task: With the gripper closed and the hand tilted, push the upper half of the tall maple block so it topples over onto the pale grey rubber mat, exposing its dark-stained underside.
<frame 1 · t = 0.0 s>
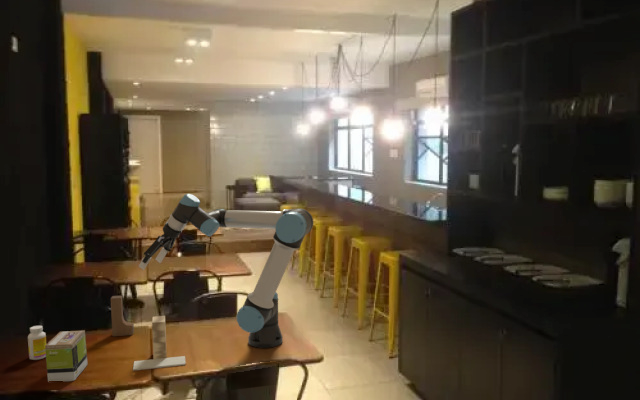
hand: (149, 264, 238), 36 cm above the table, tool tilted 35°, fingers open, 13 cm apart
wooden block: (123, 334, 254), on the table
supplement bottle: (38, 357, 228), on the table
tea box: (68, 374, 212), on the table
mat: (159, 363, 220), on the table
block: (160, 356, 228), on the table
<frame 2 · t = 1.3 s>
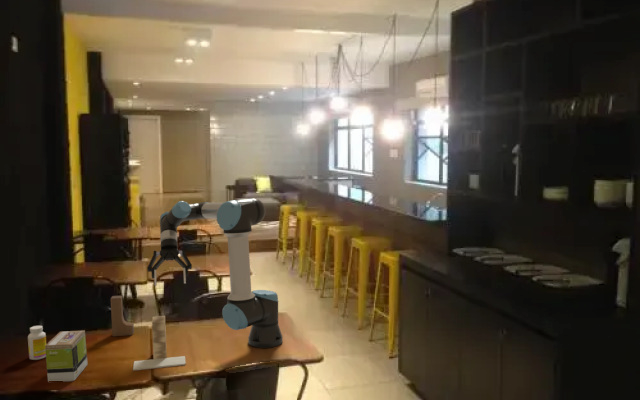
hand: (170, 283, 239), 27 cm above the table, tool tilted 45°, fingers open, 12 cm apart
nothing on the table moved.
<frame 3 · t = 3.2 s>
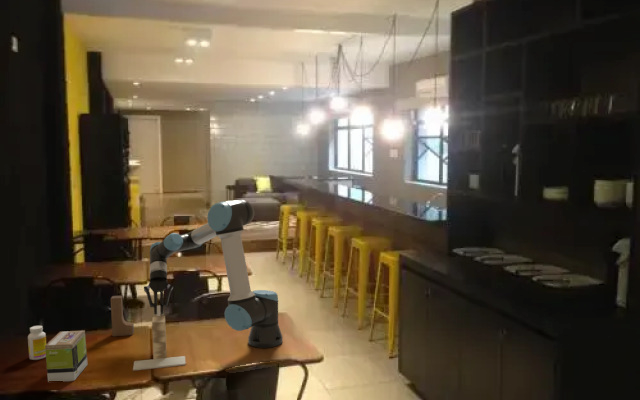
hand: (158, 320, 237), 12 cm above the table, tool tilted 45°, fingers closed
nothing on the table moved.
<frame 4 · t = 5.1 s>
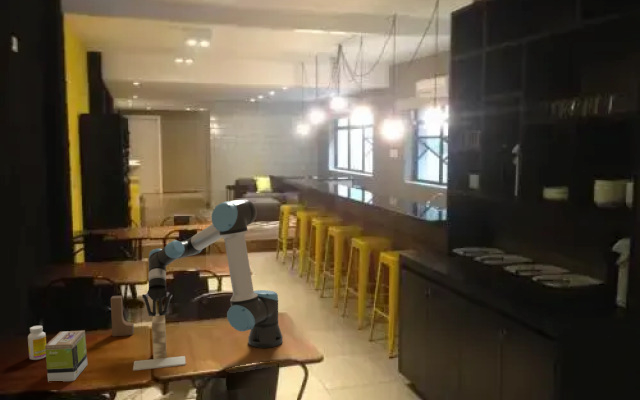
hand: (157, 329, 231), 10 cm above the table, tool tilted 45°, fingers closed
block: (160, 355, 228), on the table, touching gripper, mat
everything else where it was.
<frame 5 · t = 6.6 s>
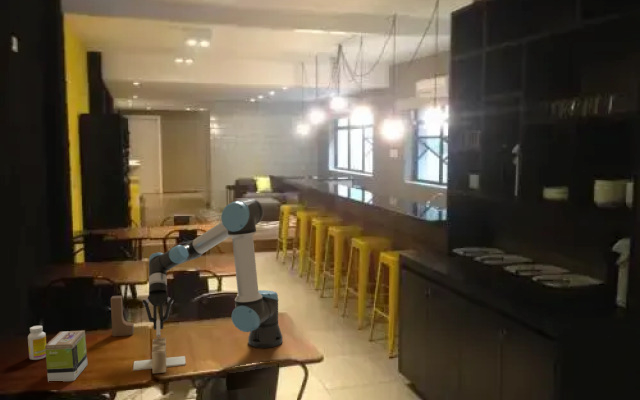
hand: (158, 336, 223), 10 cm above the table, tool tilted 45°, fingers closed
block: (159, 347, 225), point 5 cm above the table, tilted 90°, touching mat
everything else where it was.
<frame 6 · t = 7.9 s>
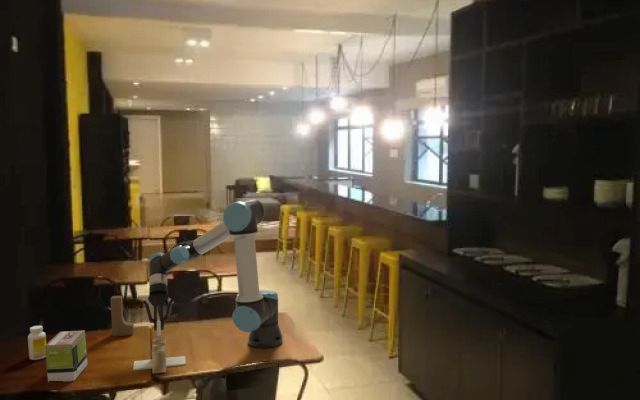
hand: (159, 337, 222), 10 cm above the table, tool tilted 45°, fingers closed
nothing on the table moved.
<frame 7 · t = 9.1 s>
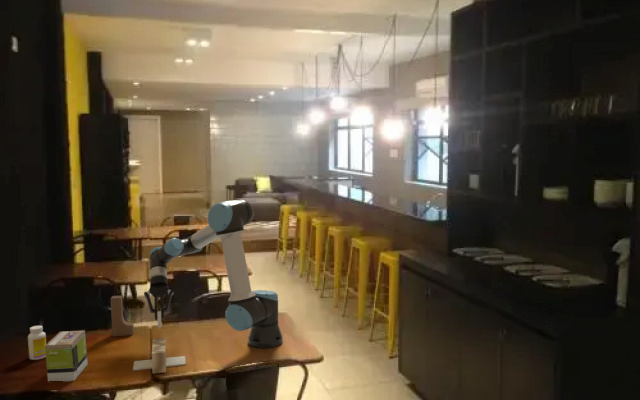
hand: (159, 326, 235), 10 cm above the table, tool tilted 45°, fingers closed
nothing on the table moved.
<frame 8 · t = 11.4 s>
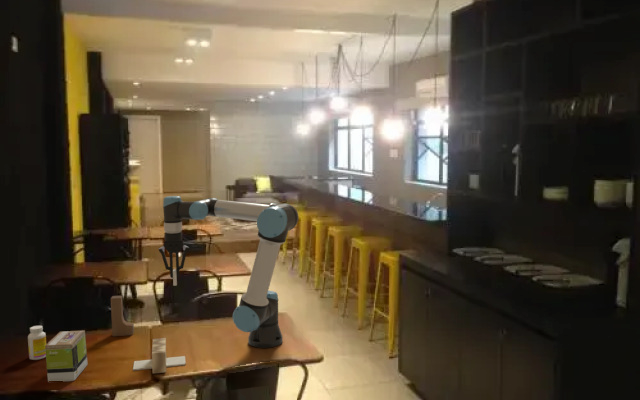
hand: (175, 284, 241), 26 cm above the table, tool pointing down, fingers closed
nothing on the table moved.
at the end: block tilted 90°; block inside the target area (6.5 cm from its centre), point 4.6 cm above the table; the gripper is holding nothing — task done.
